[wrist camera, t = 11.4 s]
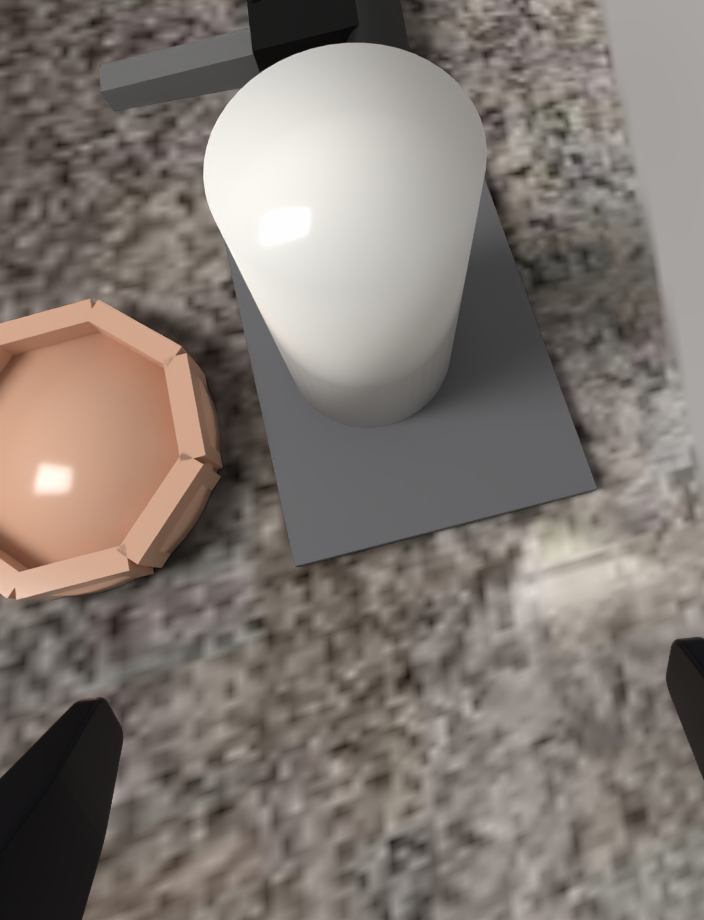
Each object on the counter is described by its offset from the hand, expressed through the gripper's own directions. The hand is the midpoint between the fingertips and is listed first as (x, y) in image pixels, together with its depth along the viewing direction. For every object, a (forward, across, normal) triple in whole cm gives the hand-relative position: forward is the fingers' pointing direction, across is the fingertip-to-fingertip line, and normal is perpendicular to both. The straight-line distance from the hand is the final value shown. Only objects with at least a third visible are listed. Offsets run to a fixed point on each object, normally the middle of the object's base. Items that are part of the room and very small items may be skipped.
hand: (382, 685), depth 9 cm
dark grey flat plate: (+18, -1, +1) cm, 18 cm away
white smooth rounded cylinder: (+17, 0, +1) cm, 17 cm away
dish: (+16, +13, +3) cm, 20 cm away
